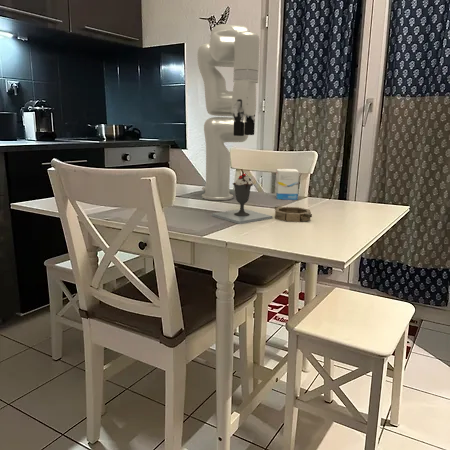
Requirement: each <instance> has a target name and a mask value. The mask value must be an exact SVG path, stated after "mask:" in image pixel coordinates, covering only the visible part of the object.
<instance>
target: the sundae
mask: <svg viewBox="0 0 450 450" xmlns="http://www.w3.org/2000/svg"><path fill="white" fill-rule="evenodd" d="M240 170H241V171H240V172H242V173H240V175H239V176H238V178H237V179H236V181H235V182H233V183H232V185H233V187H234V195H235V200H236V201H237V203H238V204H239V207H240V208H239V210H240V211H239V212H238V213H235V214H234V215H236V216H248V215H249V214H248V213H246V212H245V211H244V209H245V204H247V202H248V201H249V198H250V193H251V188H252V187H253V186H254V183H253V182H252V179H251V178H250V177H249V176H247V174H246V173H244V172H243V168H241V169H240Z"/></svg>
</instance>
